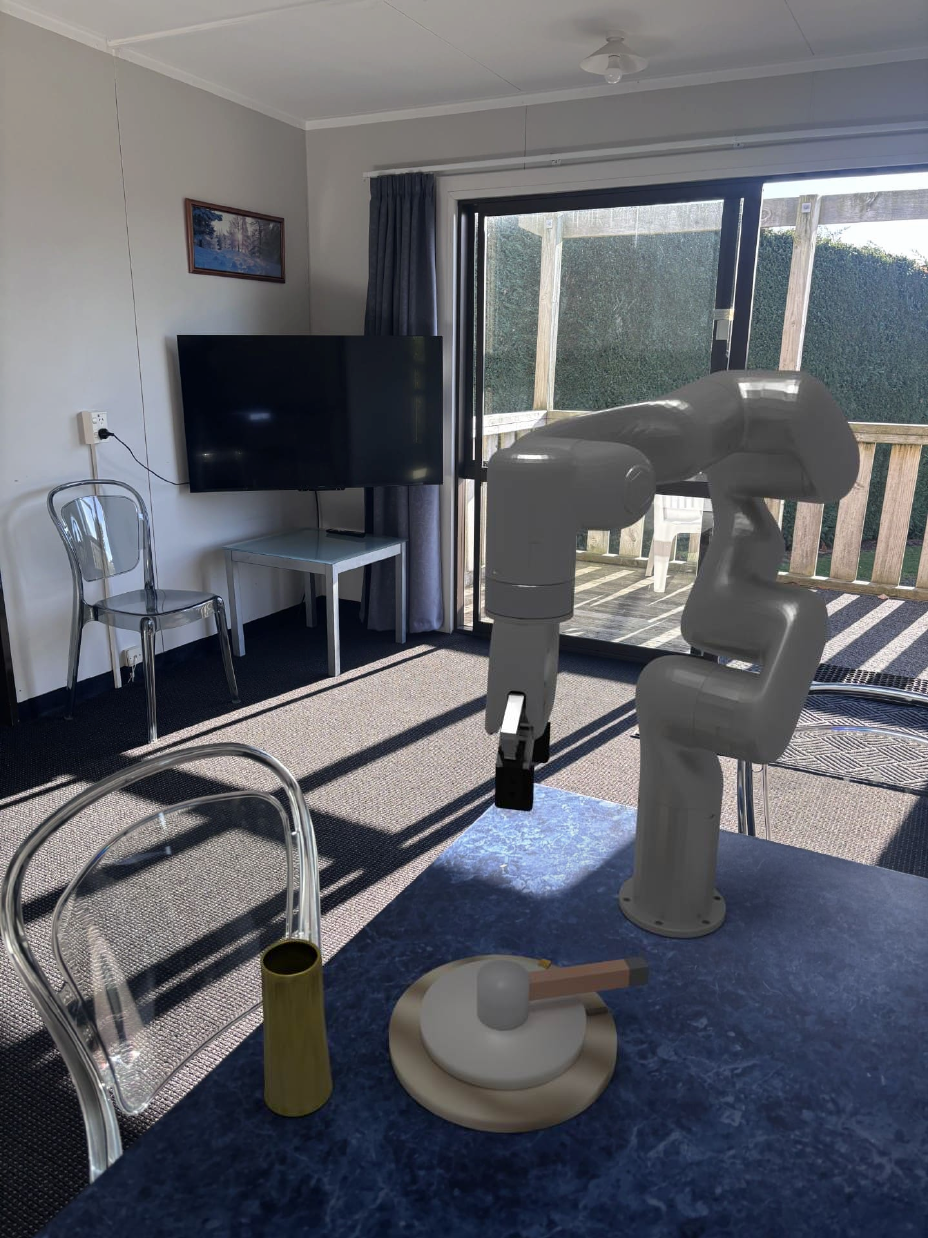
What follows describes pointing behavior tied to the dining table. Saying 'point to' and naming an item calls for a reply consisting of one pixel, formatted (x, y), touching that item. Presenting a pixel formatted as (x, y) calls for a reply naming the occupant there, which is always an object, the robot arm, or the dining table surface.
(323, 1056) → the vase
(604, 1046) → the dial base
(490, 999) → the dial
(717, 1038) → the dining table surface
